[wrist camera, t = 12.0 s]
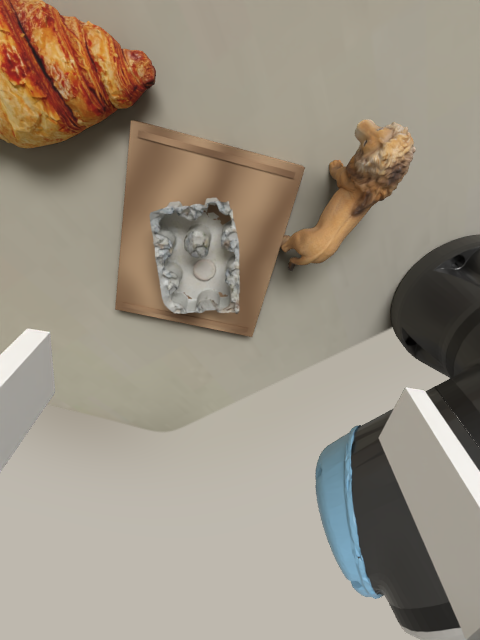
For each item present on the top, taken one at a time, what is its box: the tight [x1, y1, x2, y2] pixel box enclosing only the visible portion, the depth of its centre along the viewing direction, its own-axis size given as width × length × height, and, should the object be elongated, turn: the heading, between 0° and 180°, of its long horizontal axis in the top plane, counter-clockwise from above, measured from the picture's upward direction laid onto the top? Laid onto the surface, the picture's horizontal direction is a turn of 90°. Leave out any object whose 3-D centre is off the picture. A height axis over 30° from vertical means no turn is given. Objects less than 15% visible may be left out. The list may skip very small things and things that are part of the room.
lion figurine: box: [280, 120, 416, 271], centre depth 30 cm, size 15×5×9 cm, turn 157°
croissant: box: [0, 0, 156, 148], centre depth 27 cm, size 21×10×8 cm, turn 93°
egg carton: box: [150, 198, 240, 314], centre depth 33 cm, size 11×8×4 cm
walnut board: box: [115, 120, 305, 337], centre depth 35 cm, size 15×18×2 cm
